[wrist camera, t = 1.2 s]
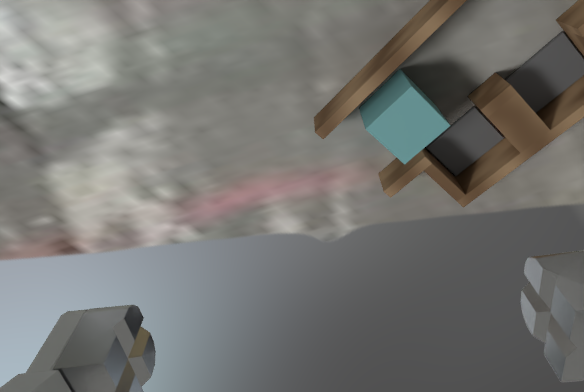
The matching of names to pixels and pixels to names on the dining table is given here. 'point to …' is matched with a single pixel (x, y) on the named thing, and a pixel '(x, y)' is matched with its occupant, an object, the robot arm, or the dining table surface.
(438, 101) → the dining table surface
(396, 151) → the block
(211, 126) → the dining table surface
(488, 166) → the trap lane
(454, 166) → the pads
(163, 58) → the dining table surface
